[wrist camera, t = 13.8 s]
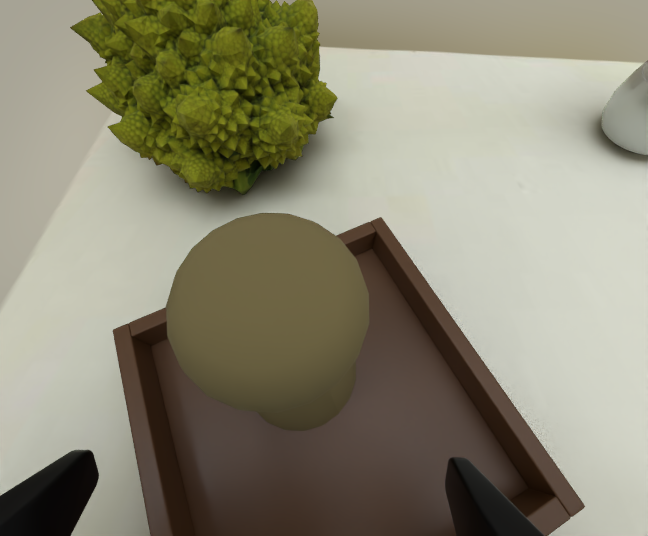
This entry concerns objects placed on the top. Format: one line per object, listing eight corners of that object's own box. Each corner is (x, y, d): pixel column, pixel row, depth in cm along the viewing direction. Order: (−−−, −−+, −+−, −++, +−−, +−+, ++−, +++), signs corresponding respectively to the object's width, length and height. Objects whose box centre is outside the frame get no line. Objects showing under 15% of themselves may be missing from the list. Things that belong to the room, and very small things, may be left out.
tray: (223, 721, 12) (196, 794, 9) (139, 342, 18) (112, 329, 16) (546, 495, 15) (587, 507, 12) (375, 239, 21) (381, 216, 19)
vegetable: (110, 36, 25) (94, -259, 13) (286, 121, 33) (382, -15, 20) (50, 200, 21) (-58, -3, 9) (267, 254, 29) (374, 186, 16)
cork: (228, 339, 17) (102, 223, 8) (327, 297, 19) (328, 149, 9) (264, 454, 15) (144, 501, 5) (376, 398, 16) (454, 349, 6)
